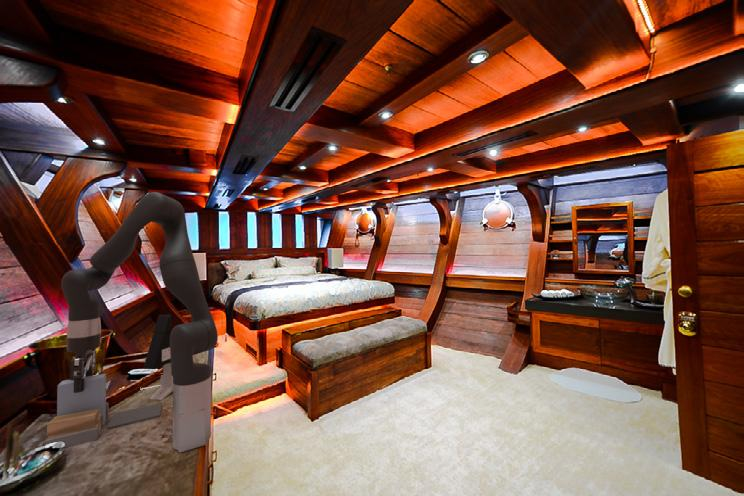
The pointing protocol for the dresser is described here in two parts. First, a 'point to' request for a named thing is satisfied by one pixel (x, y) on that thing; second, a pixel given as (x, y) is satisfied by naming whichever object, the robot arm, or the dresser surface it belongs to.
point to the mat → (135, 415)
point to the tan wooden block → (79, 435)
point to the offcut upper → (73, 422)
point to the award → (161, 355)
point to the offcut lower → (79, 430)
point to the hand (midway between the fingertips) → (83, 386)
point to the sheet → (82, 396)
